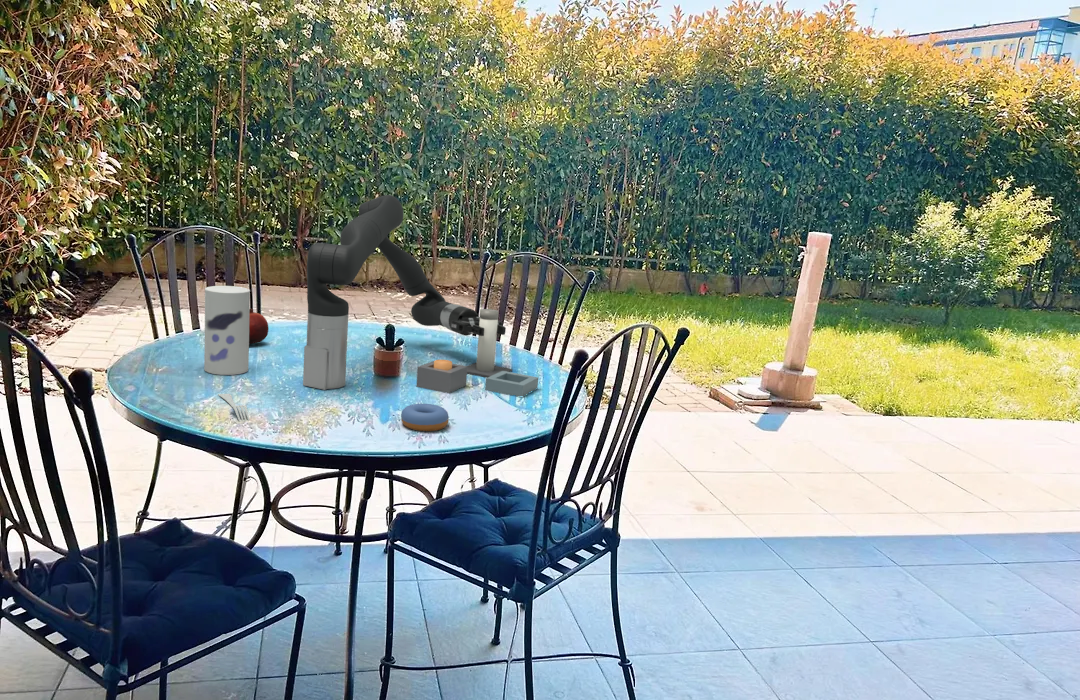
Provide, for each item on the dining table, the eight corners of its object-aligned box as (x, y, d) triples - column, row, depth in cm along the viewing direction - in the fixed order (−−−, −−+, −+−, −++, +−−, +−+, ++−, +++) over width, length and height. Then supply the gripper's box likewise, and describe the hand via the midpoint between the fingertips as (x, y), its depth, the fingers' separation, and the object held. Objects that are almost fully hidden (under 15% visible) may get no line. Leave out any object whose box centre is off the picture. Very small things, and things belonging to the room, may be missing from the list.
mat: (495, 379, 218) (495, 376, 218) (457, 371, 222) (457, 369, 222) (512, 371, 228) (512, 369, 228) (475, 364, 232) (475, 362, 232)
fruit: (224, 347, 225) (224, 310, 223) (229, 339, 234) (230, 304, 232) (265, 349, 227) (266, 312, 225) (269, 341, 236) (270, 306, 234)
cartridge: (489, 372, 222) (493, 313, 219) (472, 369, 224) (477, 310, 220) (497, 369, 226) (501, 310, 223) (480, 366, 228) (485, 308, 225)
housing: (522, 397, 203) (523, 385, 203) (484, 390, 207) (485, 378, 206) (537, 388, 212) (538, 377, 212) (501, 381, 216) (502, 370, 215)
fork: (229, 405, 185) (229, 392, 185) (252, 423, 168) (252, 409, 167) (216, 405, 183) (216, 393, 183) (237, 424, 166) (238, 410, 166)
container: (205, 375, 196) (206, 291, 192) (203, 365, 205) (203, 284, 201) (250, 375, 200) (251, 292, 196) (246, 364, 209) (247, 285, 205)
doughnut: (390, 425, 173) (393, 404, 172) (415, 416, 182) (419, 396, 181) (431, 439, 169) (435, 418, 168) (455, 430, 178) (459, 409, 177)
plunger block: (449, 393, 201) (450, 373, 200) (416, 386, 204) (417, 366, 203) (466, 385, 209) (467, 366, 208) (434, 379, 212) (435, 360, 211)
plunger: (445, 387, 204) (446, 364, 202) (429, 384, 205) (430, 361, 204) (453, 384, 208) (455, 361, 206) (438, 381, 209) (439, 358, 208)
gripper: (438, 306, 228) (472, 318, 216) (481, 305, 237) (516, 316, 224) (436, 333, 230) (470, 347, 217) (479, 331, 239) (514, 344, 226)
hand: (493, 331), depth 221 cm, fingers open, 6 cm apart
